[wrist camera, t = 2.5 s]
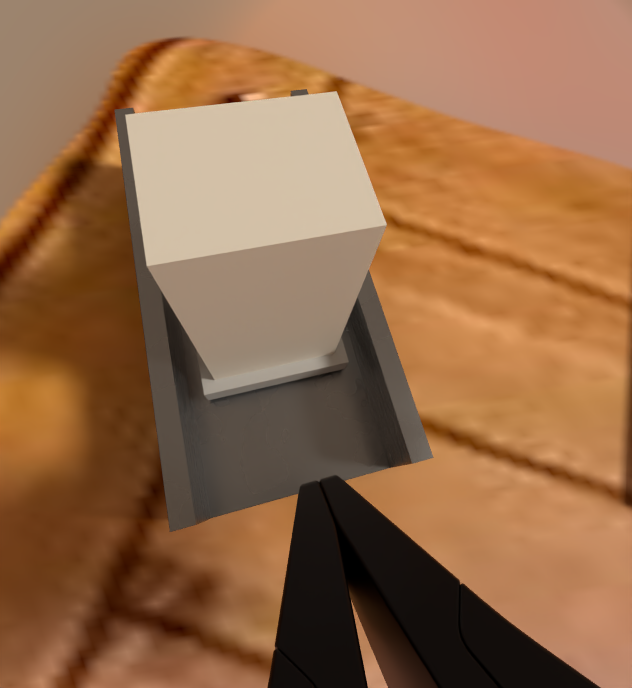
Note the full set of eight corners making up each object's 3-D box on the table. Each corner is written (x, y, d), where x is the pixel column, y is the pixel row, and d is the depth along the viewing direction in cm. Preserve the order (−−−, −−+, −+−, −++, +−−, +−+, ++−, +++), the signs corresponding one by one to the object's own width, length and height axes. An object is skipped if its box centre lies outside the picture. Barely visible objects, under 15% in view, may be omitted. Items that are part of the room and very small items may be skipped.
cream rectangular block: (345, 368, 18) (416, 240, 8) (208, 400, 17) (122, 293, 7) (316, 271, 19) (350, 75, 10) (189, 295, 18) (100, 100, 9)
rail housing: (400, 464, 18) (433, 457, 14) (195, 521, 16) (169, 532, 12) (302, 153, 23) (306, 89, 19) (142, 174, 22) (114, 109, 18)
